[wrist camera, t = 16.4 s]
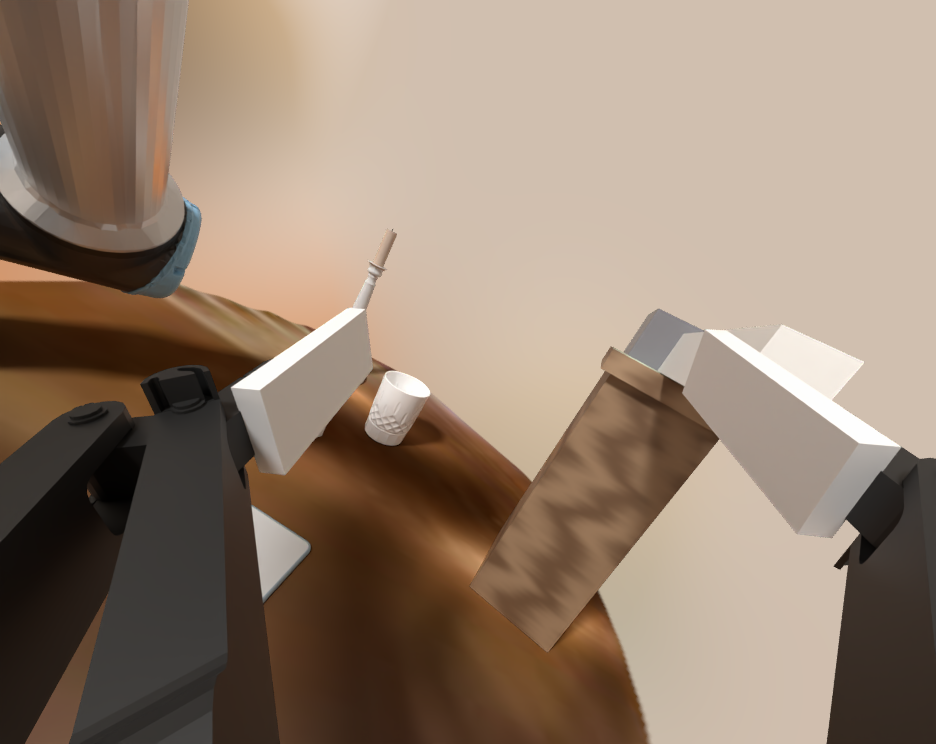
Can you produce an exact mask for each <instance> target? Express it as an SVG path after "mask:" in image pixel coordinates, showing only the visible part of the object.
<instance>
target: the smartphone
mask: <svg viewBox="0 0 936 744" xmlns="http://www.w3.org/2000/svg"><path fill="white" fill-rule="evenodd" d="M252 514H253V522H254V531H255V539H256V548H257V556H258V564H259V573H260V581H261V590H262V598H263V603H264V602H265V601H266V600H267V599H268V597H269V596H270V595H271V594H272V593H273V592H274V591H275V590H276V589H277V588H278V587H279V585H280V584H281V583H282V582H283V581H284V580H285V579H286V577H287V576H288V575H289V574H290V573H291V572H292V571H293V570H294V569H295V568H296V566H298V564H299V563H300V562H301V561H302V560H303V559H304V558H305V557H306V556H307V555H308V554H309V552H310V550H311V545H310V543H309V542H308V541H307V540H305V539H304V538H302V537H300V536H299V535H297V534H296V533H294V532H293V531H291V530H290V529H288V528H287V527H285V526H284V525H282V524H281V523H279V522H277V521H276V520H274V519H273V518H271V517H270V516H268V515H267V514H265V513H264V512H262V511H261V510H259V509H258V508H256V507H255V506H253V505H252Z"/></svg>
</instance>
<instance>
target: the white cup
mask: <svg viewBox="0 0 936 744" xmlns="http://www.w3.org/2000/svg"><path fill="white" fill-rule="evenodd" d="M429 396H430V390H429V389H428V387H427V386H426V385H425V384H423V383H422V382H421V381H419V380H418V379H416V378H414V377H412V376H410V375H408V374H405V373H402V372H398V371H388V372H386V373H385V375H384V378H383V380H382V382H381V385H380V387H379V390H378V392H377V395H376V397H375V399H374V402H373V405H372V407H371V410H370V414H369V416H368V419H367V421H366V423H365V431H366V433H367V434H368V436H369V437H371V438H372V439H373V440H375V441H376V442H379V443H381V444H384V445H390V446H395V445H399V444H400V443H401V442H402V441H403V439H404V437H405V435H406V434H407V432H408V431H409V430H410V428H411V426H412V425H413V423H414V422H415V420H416V418H417V417H418V415H419V413H420V411H421V410H422V408H423V406H424V404H425V403H426V401H427V399H428V397H429Z"/></svg>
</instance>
